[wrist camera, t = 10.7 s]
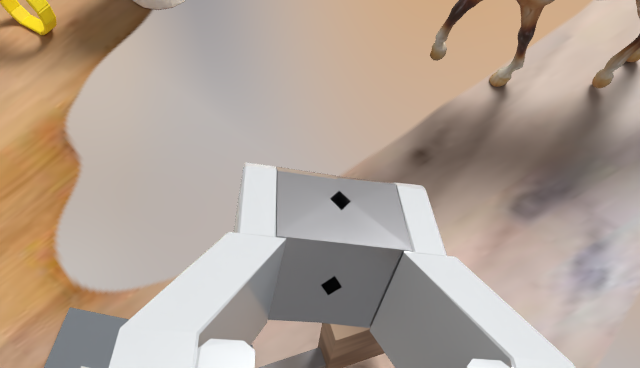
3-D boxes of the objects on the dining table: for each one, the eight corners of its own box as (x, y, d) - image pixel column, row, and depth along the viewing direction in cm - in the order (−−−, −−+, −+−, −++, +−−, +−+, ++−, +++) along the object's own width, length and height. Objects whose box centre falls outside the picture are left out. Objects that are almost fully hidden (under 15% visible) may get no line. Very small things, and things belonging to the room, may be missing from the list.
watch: (69, 30, 54) (49, -17, 49) (48, 48, 53) (26, 1, 47) (22, 4, 55) (-3, -46, 50) (1, 20, 54) (-27, -28, 48)
